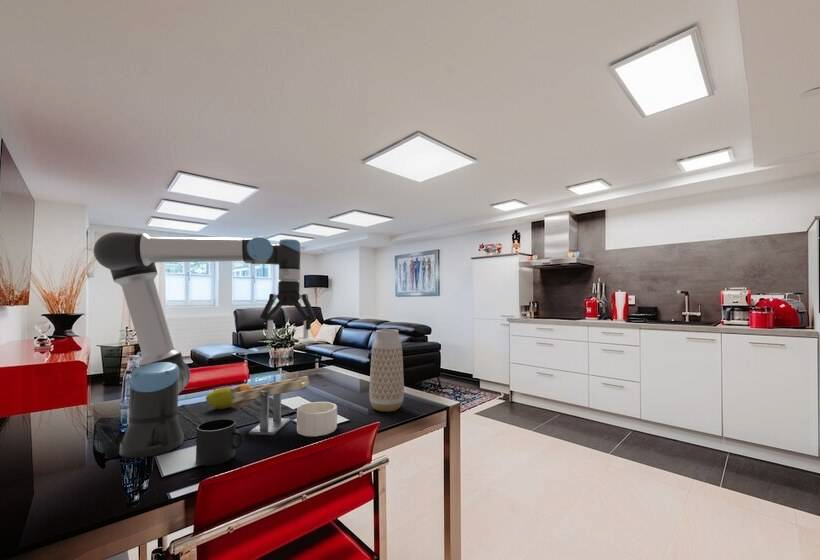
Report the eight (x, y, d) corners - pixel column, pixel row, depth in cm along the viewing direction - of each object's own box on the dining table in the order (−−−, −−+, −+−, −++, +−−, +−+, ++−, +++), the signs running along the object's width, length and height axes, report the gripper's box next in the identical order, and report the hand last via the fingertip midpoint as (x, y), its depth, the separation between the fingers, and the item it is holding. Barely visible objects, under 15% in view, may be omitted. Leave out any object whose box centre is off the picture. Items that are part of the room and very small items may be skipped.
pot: (290, 435, 113) (291, 413, 113) (305, 421, 125) (305, 401, 125) (329, 436, 112) (330, 414, 112) (340, 422, 124) (340, 402, 124)
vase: (410, 406, 143) (410, 329, 144) (390, 416, 131) (391, 332, 133) (382, 400, 150) (383, 328, 152) (361, 409, 139) (362, 330, 140)
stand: (249, 434, 113) (250, 392, 114) (268, 420, 126) (269, 382, 127) (273, 435, 113) (274, 393, 113) (290, 420, 126) (290, 383, 126)
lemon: (239, 404, 144) (239, 384, 144) (234, 410, 136) (235, 389, 137) (209, 406, 141) (210, 386, 141) (203, 413, 134) (203, 391, 134)
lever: (233, 409, 117) (230, 389, 118) (256, 396, 132) (253, 378, 133) (303, 396, 116) (299, 375, 116) (318, 384, 131) (314, 366, 131)
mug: (236, 465, 93) (237, 430, 93) (188, 467, 92) (189, 431, 92) (249, 449, 102) (250, 417, 103) (206, 451, 101) (207, 418, 101)
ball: (238, 396, 119) (236, 386, 119) (243, 393, 123) (242, 383, 123) (248, 394, 119) (246, 384, 119) (253, 392, 122) (251, 381, 123)
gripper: (251, 280, 130) (249, 338, 129) (318, 280, 128) (317, 339, 127) (261, 281, 137) (260, 336, 136) (324, 281, 135) (323, 337, 134)
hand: (287, 338), depth 131 cm, fingers open, 13 cm apart
